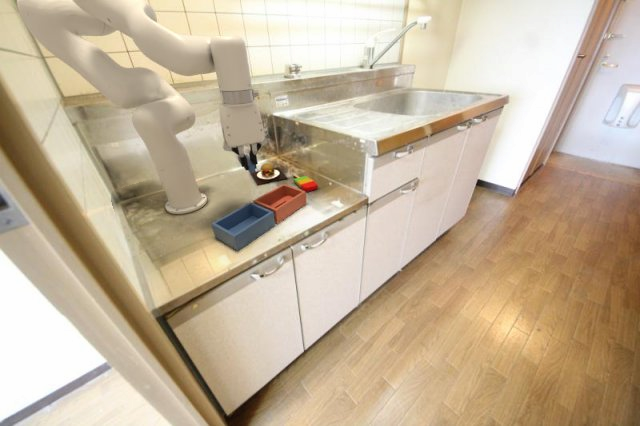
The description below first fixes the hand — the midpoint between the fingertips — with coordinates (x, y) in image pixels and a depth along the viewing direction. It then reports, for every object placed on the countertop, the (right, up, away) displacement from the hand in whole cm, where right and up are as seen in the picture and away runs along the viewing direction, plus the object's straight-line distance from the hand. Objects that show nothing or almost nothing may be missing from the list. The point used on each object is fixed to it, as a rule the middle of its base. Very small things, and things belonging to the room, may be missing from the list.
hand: (250, 167), depth 72 cm
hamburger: (-1, +2, +31) cm, 31 cm away
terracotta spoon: (+8, -11, +10) cm, 16 cm away
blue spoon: (-1, +1, +2) cm, 3 cm away
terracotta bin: (+7, -11, +10) cm, 17 cm away
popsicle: (+13, -2, +25) cm, 28 cm away
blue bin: (-1, -18, 0) cm, 18 cm away
